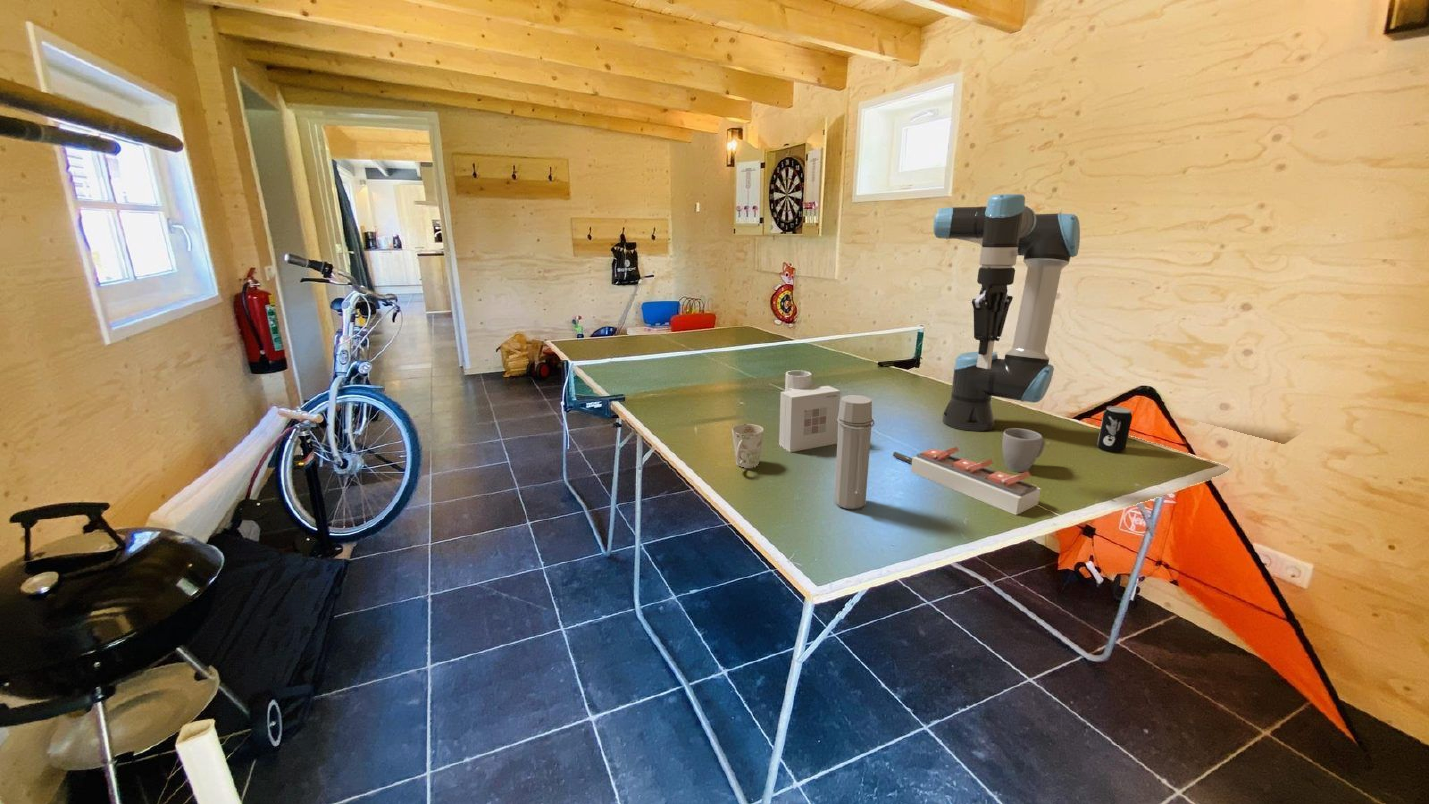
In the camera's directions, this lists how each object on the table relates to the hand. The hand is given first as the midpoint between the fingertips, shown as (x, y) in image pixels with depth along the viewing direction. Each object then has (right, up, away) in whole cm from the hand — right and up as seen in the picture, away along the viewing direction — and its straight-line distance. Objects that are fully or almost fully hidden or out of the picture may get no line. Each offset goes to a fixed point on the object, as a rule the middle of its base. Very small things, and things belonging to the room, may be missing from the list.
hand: (983, 367), depth 135 cm
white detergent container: (-40, -19, +35) cm, 56 cm away
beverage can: (+48, -22, +24) cm, 58 cm away
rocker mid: (-3, -24, 0) cm, 24 cm away
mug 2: (+16, -26, +13) cm, 33 cm away
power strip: (-5, -28, +5) cm, 29 cm away
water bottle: (-34, -32, -7) cm, 47 cm away
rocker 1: (-7, -22, +7) cm, 24 cm away
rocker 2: (+2, -26, -7) cm, 27 cm away
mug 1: (-56, -26, +14) cm, 64 cm away
